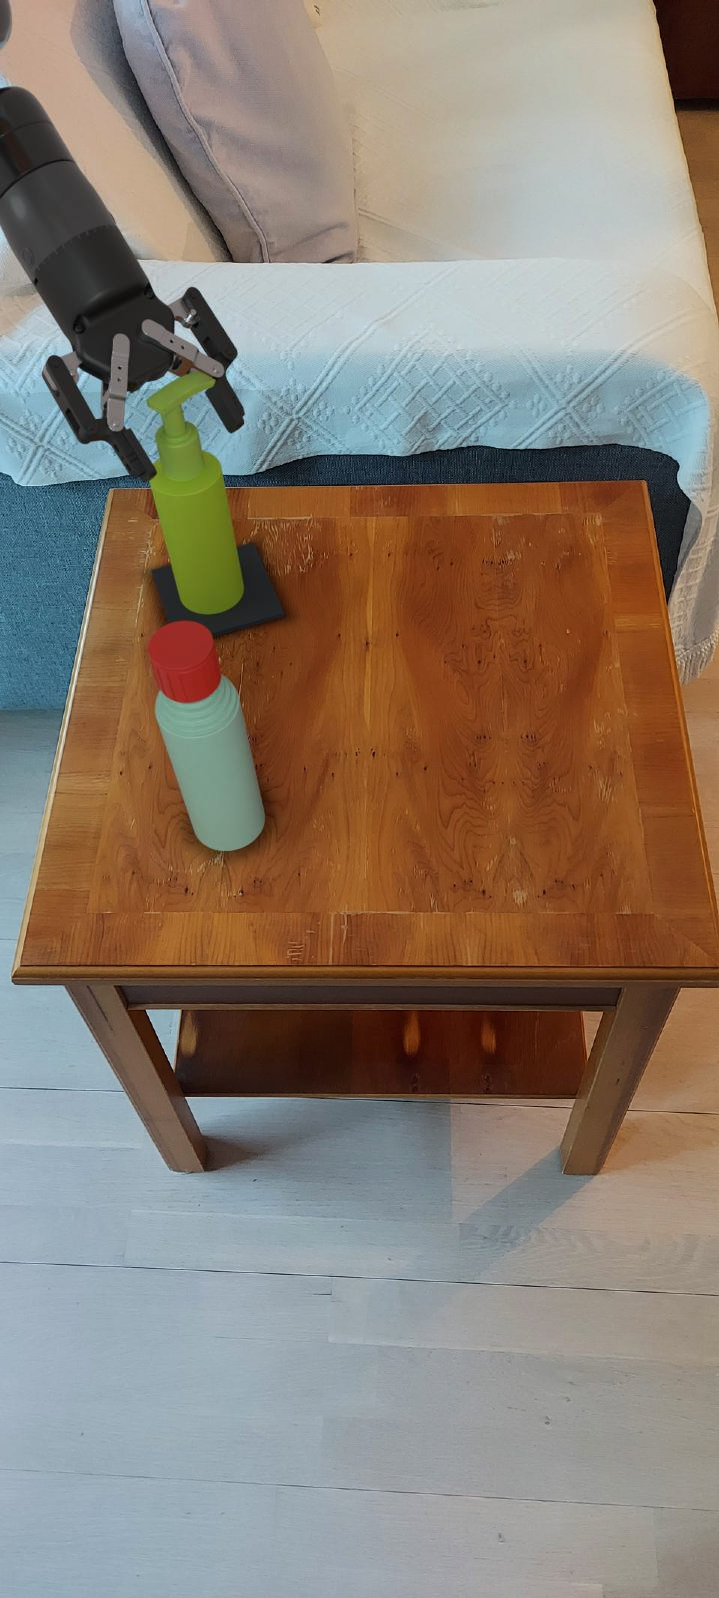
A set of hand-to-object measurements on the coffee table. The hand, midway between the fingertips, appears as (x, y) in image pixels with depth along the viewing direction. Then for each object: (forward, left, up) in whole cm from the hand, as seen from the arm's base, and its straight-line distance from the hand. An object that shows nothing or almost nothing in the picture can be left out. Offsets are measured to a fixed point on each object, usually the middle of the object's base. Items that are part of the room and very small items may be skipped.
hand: (194, 453), depth 78 cm
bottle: (-6, -23, -16) cm, 29 cm away
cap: (-6, -23, 0) cm, 24 cm away
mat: (-1, +1, -16) cm, 16 cm away
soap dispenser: (0, +2, -16) cm, 16 cm away
